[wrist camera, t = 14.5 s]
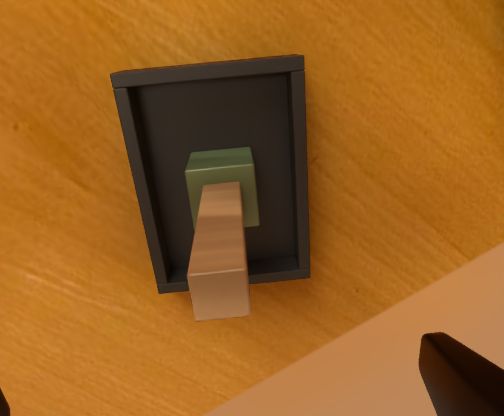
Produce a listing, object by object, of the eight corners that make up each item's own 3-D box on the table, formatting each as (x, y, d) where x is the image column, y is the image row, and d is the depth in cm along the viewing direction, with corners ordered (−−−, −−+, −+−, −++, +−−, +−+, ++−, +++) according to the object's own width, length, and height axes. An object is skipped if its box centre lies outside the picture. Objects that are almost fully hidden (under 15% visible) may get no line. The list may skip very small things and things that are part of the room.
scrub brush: (255, 201, 20) (277, 333, 11) (199, 207, 20) (174, 344, 11) (250, 145, 19) (271, 243, 10) (190, 152, 19) (154, 254, 10)
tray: (303, 259, 22) (310, 278, 20) (164, 273, 22) (158, 294, 20) (296, 54, 18) (304, 55, 16) (121, 70, 18) (109, 73, 16)
